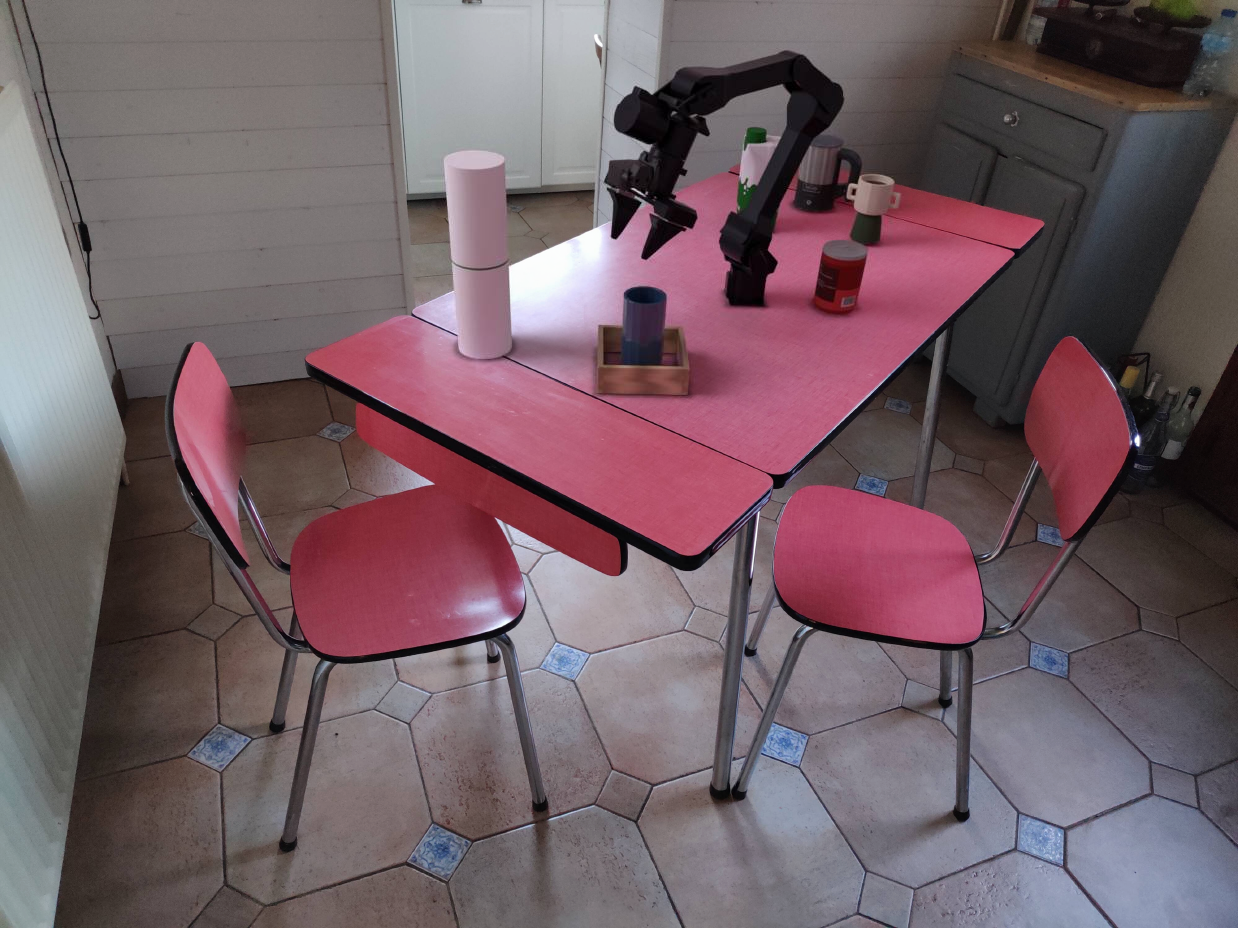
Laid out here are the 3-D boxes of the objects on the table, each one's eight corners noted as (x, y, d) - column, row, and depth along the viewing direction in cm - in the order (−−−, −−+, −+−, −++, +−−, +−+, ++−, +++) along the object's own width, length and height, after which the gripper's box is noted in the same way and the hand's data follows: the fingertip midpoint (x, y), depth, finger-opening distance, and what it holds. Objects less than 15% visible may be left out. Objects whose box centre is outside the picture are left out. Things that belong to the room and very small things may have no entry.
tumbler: (660, 361, 142) (665, 286, 134) (662, 382, 137) (668, 305, 129) (620, 360, 142) (623, 285, 134) (620, 381, 137) (624, 304, 129)
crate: (680, 351, 145) (682, 326, 142) (687, 395, 134) (689, 369, 131) (597, 349, 145) (598, 324, 142) (597, 393, 134) (598, 367, 131)
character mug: (894, 241, 187) (908, 180, 179) (884, 252, 182) (899, 189, 174) (844, 230, 191) (855, 169, 183) (833, 241, 186) (845, 179, 178)
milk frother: (791, 211, 199) (801, 143, 190) (792, 188, 212) (802, 123, 203) (855, 217, 197) (869, 149, 189) (852, 193, 210) (865, 129, 201)
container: (460, 333, 147) (446, 150, 129) (512, 333, 148) (505, 150, 130) (456, 359, 140) (441, 169, 123) (511, 359, 141) (504, 169, 123)
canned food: (860, 301, 162) (872, 244, 156) (850, 319, 156) (862, 260, 150) (819, 292, 165) (829, 236, 158) (807, 309, 159) (818, 251, 152)
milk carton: (732, 217, 195) (743, 123, 183) (773, 219, 195) (786, 125, 183) (735, 232, 187) (747, 135, 176) (778, 234, 188) (792, 137, 176)
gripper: (597, 121, 138) (560, 216, 143) (663, 155, 125) (620, 258, 131) (650, 144, 145) (612, 233, 150) (718, 178, 132) (674, 275, 138)
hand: (628, 248), depth 142 cm, fingers open, 9 cm apart
